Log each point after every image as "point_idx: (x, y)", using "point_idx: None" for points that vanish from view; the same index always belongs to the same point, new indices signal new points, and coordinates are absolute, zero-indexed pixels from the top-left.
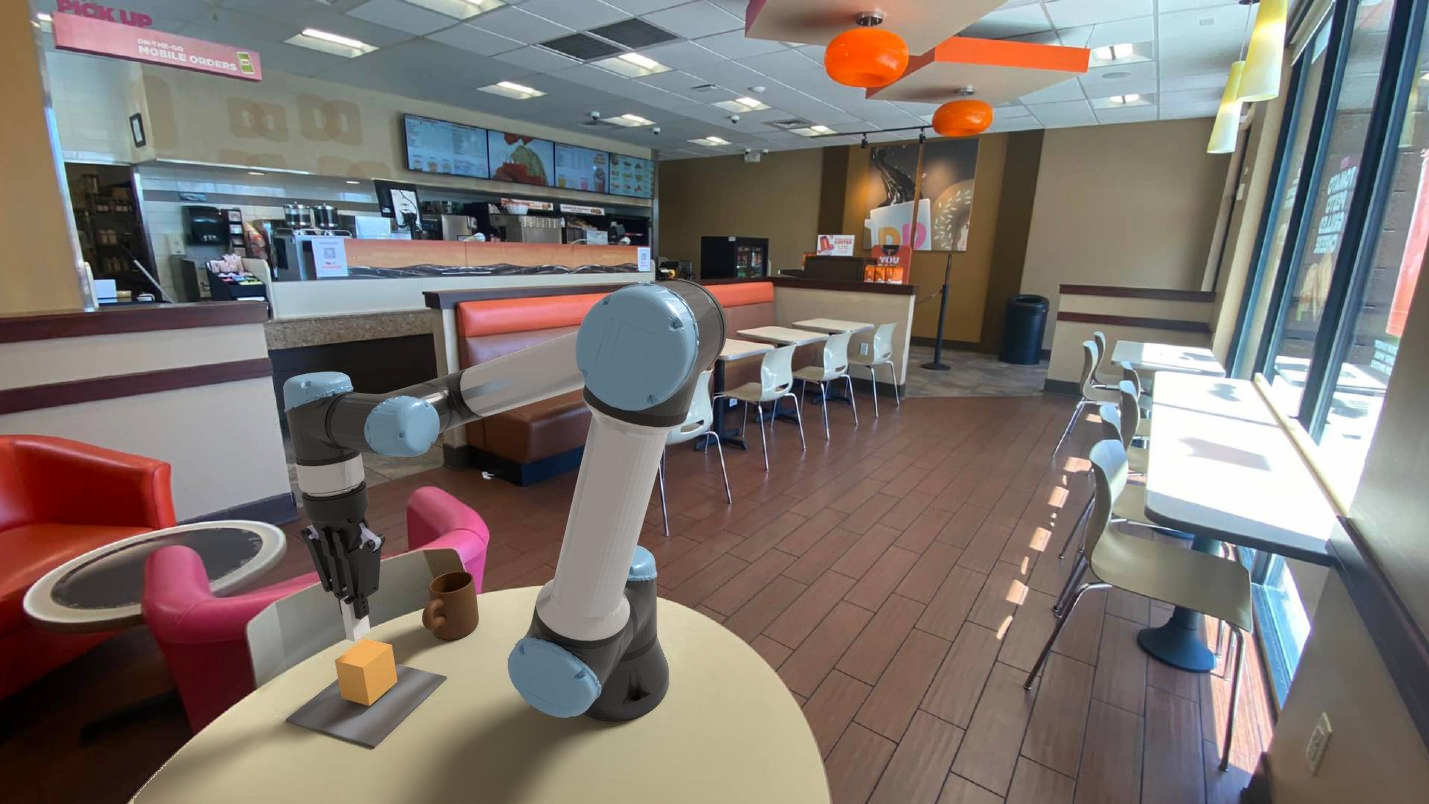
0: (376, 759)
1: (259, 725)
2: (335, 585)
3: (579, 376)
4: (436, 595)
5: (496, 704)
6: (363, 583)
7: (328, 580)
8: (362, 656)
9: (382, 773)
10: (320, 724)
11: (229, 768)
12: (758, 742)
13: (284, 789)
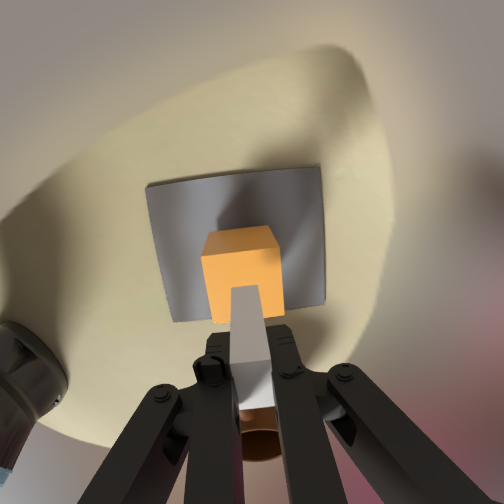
0: (127, 176)
1: (345, 148)
2: (296, 403)
3: None
4: (255, 425)
5: (83, 307)
6: (126, 441)
7: (345, 407)
8: (234, 278)
9: (103, 167)
10: (258, 179)
11: (304, 83)
12: None
13: (196, 90)
